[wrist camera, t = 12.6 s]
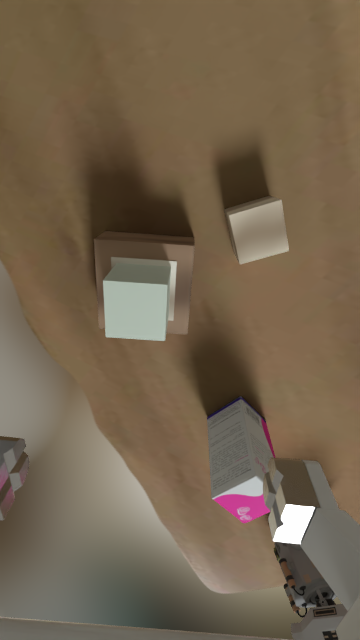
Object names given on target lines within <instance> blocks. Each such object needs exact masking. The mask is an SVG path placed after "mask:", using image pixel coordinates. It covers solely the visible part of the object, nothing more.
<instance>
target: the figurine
mask: <svg viewBox="0 0 360 640" xmlns="http://www.w3.org/2000/svg"><path fill="white" fill-rule="evenodd" d="M300 545H301V544H294V543H284V542H275V548H274V553H275V555H276V557H277V561H279V564H280V566H281V569H282V571H283V574H284V576H285V579H286V581H287V584H285V585H284V589H285V591H286V594H287V596H288V598H289V600H290V604H291V607H292V608H293V611H294V613H298V615H299V616H300V617H304V618H303V620H302V621H301V623H292V624H291V632H292V636H293V638H294V639H295V640H338V636H337V633H336V628H337V627H338V625H339V623H340V622H341V620H342V619H343V617H344V616H345V614H346V613H347V610H346V608H345V607H344V605H343V604H338V605H336V604H335V603H334V601H333V600H334V599H335V598H336V597H337V596H336V594H335V593H334V592H333V590H332V589H331V588H330V586H329V585H328V583H327V582H326V581H325V579H324V578H323V576H322V575H321V574H320V572H319V571H318V570H317V568H316V567H315V565H314V564H313V563H312V561H311V560H310V559H309V557H308V556H307V554H306V553H305V552H304V550H303V549H302V547H301V546H300ZM299 607H304V608H306V613H305V615H304V616H301V615H300V614H299V611H300V609H299ZM308 607H314V608H310V610H309V611H308V613H307V608H308Z"/></svg>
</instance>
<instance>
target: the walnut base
mask: <svg viewBox="0 0 360 640" xmlns="http://www.w3.org/2000/svg"><path fill="white" fill-rule="evenodd" d="M194 247H195V245H194V237H185V236H170V235H155V234H141V233H126V232H111V231H104V232H103V233H102V234H100V235H99V236H97V237H96V238H95V239H94V250H95V267H96V283H97V300H98V317H99V329H105V312H104V291H103V280H104V279H105V277H106V276H107V275H108V273H109V272H110V271H111V270H112V268H113V267H114V266H115V265H116V263H124V264H139V265H154V266H168V267H171V280H170V300H169V317H168V324H167V331H166V333H172V334H188V321H189V309H190V296H191V284H192V271H193V259H194Z"/></svg>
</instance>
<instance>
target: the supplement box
mask: <svg viewBox="0 0 360 640" xmlns="http://www.w3.org/2000/svg"><path fill="white" fill-rule="evenodd" d="M207 422H208V440H209V458H210V476H211V495H212V499H214V500H215V501H216V502H217V503H219V504H220V505H221V506H222V507H224V508H225V509H226V510H228V511H229V512H230V513H231V514H233V515H234V516H235V517H237V518H238V519H239V520H240V521H242V522H243V523H247V522H249V521H251V520H253V519H255V518H258V517H260V516H262V515H264V514H266V513H269V512H270V510H269V509H268V508H267V506H266V505H265V502H264V496H263V480H264V476H265V474H266V473H267V472H269V469H268V462H269V459H270V458H275V454H274V451H273V447H272V444H271V440H270V436H269V432H268V429H267V425H266V421H265V420H264V419H263V418H262V417H261V416H260V415H259V413H258V412H257V411H255V409H253V407H251V406H250V405H249V404H248V403H247V402H246V401H245V400H244V399H243V398H242V397H241V396H240V397H238V398H237V399H235V400H233V401H232V402H230V403H229V404H227V405H226V406H224V407H222V408H221V409H219V410H217V411H216V412H214V413H213V414H211V415H210V416H208V417H207Z"/></svg>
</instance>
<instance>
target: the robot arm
mask: <svg viewBox="0 0 360 640" xmlns="http://www.w3.org/2000/svg"><path fill="white" fill-rule="evenodd" d="M25 447H26V444H25V440H24V439H21V438H13V437H2V436H0V520H4V519H5V517H6V515H7V513H8V511H9V509H10V507H11V505H12V503H13V502H14V500H15V497H14V491H15V490H17V489H18V488H20V487H21V486H22V485H23V483H24V480H25V478H26V476H27V473H28V469H29V458H28V455H27V454H26V453H25V452H24V449H25ZM268 469H269V472H267V473H266V474H265V476H264V480H263V496H264V502H265V505H266V506H267V508H268V509H269V510H270V515H269V518H268V521H269V525H270V530H271V534H272V539H273V541H275V542H284V543H294V544H301V545H300V546H301V547H302V549H303V550H304V552H305V553H306V554H307V556H308V557H309V559H310V560H311V561H312V563H313V564H314V565H315V567H316V568H317V570H318V571H319V572H320V574H321V575H322V576H323V578H324V579H325V581H326V582H327V583H328V585H329V586H330V588H331V589H332V590H333V592H334V593H335V594H336V596H337V597H338V598H339V600H340V601H341V603H342V604H343V605H344V607H345V608H346V610H347V613H346V614H345V616H344V617H343V619H342V620H341V622H340V623H339V625H338V627H337V628H336V633H337V636H338V640H360V525H359V524H358V523H357V522H356V521H355V520H354V519H353V518H352V517H351V516H350V515H349V514H348V513H347V512H346V511H344V510H339V507H338V505H337V503H336V500H335V498H334V496H333V493H332V491H331V489H330V486H329V484H328V482H327V479H326V477H325V475H324V472H323V470H322V468H321V465H320V464H319V462H318V461H311V460H300V459H287V458H270V459H269V462H268ZM0 640H290V639H277V638H264V637H252V636H238V635H227V634H214V633H200V632H188V631H175V630H162V629H149V628H137V627H124V626H112V625H98V624H86V623H72V622H59V621H48V620H35V619H21V618H8V617H0Z"/></svg>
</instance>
